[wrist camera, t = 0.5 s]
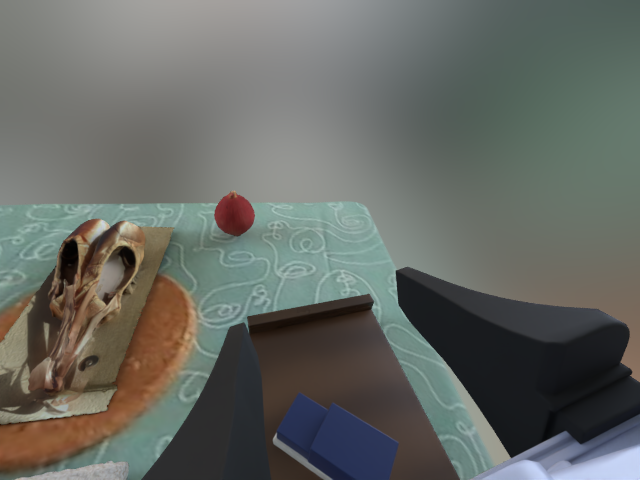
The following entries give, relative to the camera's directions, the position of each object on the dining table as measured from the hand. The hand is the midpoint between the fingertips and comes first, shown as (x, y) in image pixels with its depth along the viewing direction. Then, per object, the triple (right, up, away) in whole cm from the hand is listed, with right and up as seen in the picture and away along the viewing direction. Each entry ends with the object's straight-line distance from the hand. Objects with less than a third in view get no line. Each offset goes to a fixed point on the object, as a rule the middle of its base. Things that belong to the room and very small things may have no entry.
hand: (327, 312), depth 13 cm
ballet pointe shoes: (-27, -4, +22) cm, 35 cm away
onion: (-14, +4, +33) cm, 36 cm away
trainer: (0, -13, +9) cm, 16 cm away
